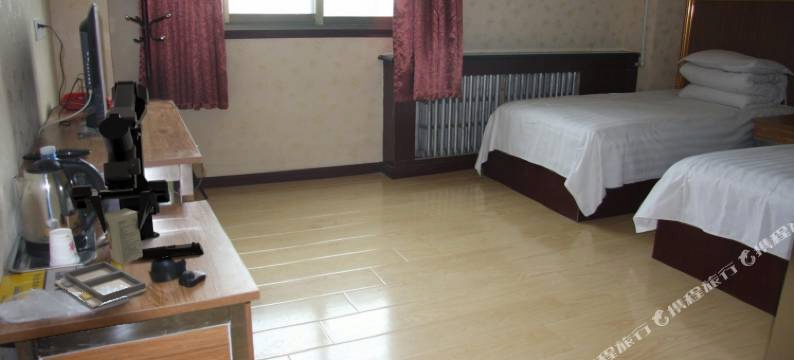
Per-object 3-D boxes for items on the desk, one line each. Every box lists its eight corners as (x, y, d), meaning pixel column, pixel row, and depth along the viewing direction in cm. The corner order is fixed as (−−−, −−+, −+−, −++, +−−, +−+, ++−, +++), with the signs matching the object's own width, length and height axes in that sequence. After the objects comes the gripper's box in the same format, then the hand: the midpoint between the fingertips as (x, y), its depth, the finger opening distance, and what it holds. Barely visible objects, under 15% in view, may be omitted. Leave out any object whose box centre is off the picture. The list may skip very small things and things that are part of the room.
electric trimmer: (135, 259, 150) (134, 246, 149) (203, 250, 154) (202, 238, 154) (134, 264, 146) (133, 252, 145) (204, 255, 151) (202, 243, 150)
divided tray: (55, 283, 134) (54, 275, 134) (106, 268, 142) (105, 261, 142) (93, 308, 123) (92, 300, 123) (146, 290, 131) (145, 282, 131)
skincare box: (132, 252, 134) (127, 207, 131) (143, 257, 131) (138, 211, 129) (108, 259, 130) (103, 213, 127) (120, 264, 127) (114, 217, 125)
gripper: (65, 147, 125) (62, 216, 118) (164, 142, 131) (167, 208, 124) (76, 176, 135) (74, 241, 127) (168, 169, 140) (171, 232, 133)
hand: (122, 230), depth 128 cm, fingers closed on skincare box, 6 cm apart
